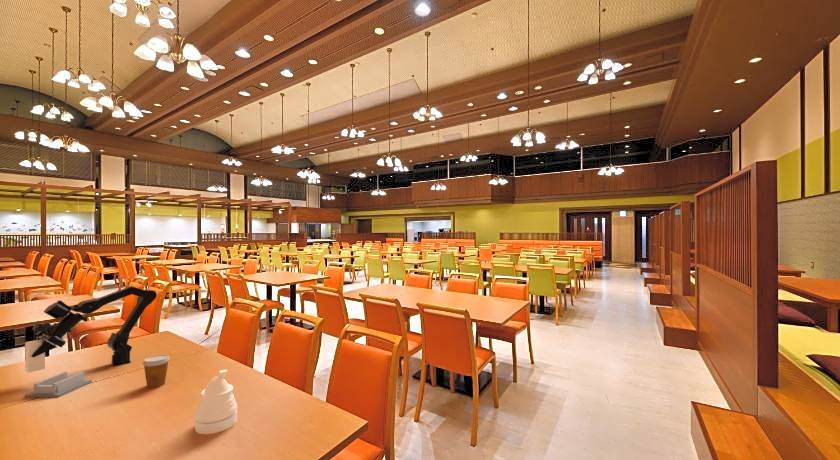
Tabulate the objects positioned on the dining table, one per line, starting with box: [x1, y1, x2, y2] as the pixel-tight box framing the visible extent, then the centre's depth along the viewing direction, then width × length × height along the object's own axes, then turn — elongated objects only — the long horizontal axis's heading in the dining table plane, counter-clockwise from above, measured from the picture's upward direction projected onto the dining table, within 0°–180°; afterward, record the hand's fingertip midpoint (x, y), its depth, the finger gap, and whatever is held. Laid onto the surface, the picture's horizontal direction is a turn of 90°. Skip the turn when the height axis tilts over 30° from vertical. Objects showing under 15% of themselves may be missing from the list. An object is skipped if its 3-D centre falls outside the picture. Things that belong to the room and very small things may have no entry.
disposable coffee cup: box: [142, 354, 171, 389], centre depth 152 cm, size 10×10×12 cm
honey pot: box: [194, 369, 238, 435], centre depth 121 cm, size 13×13×18 cm
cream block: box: [24, 339, 46, 374], centre depth 151 cm, size 5×4×12 cm
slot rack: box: [24, 371, 93, 398], centre depth 147 cm, size 14×14×5 cm
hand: (30, 355), depth 149 cm, fingers closed on cream block, 4 cm apart
